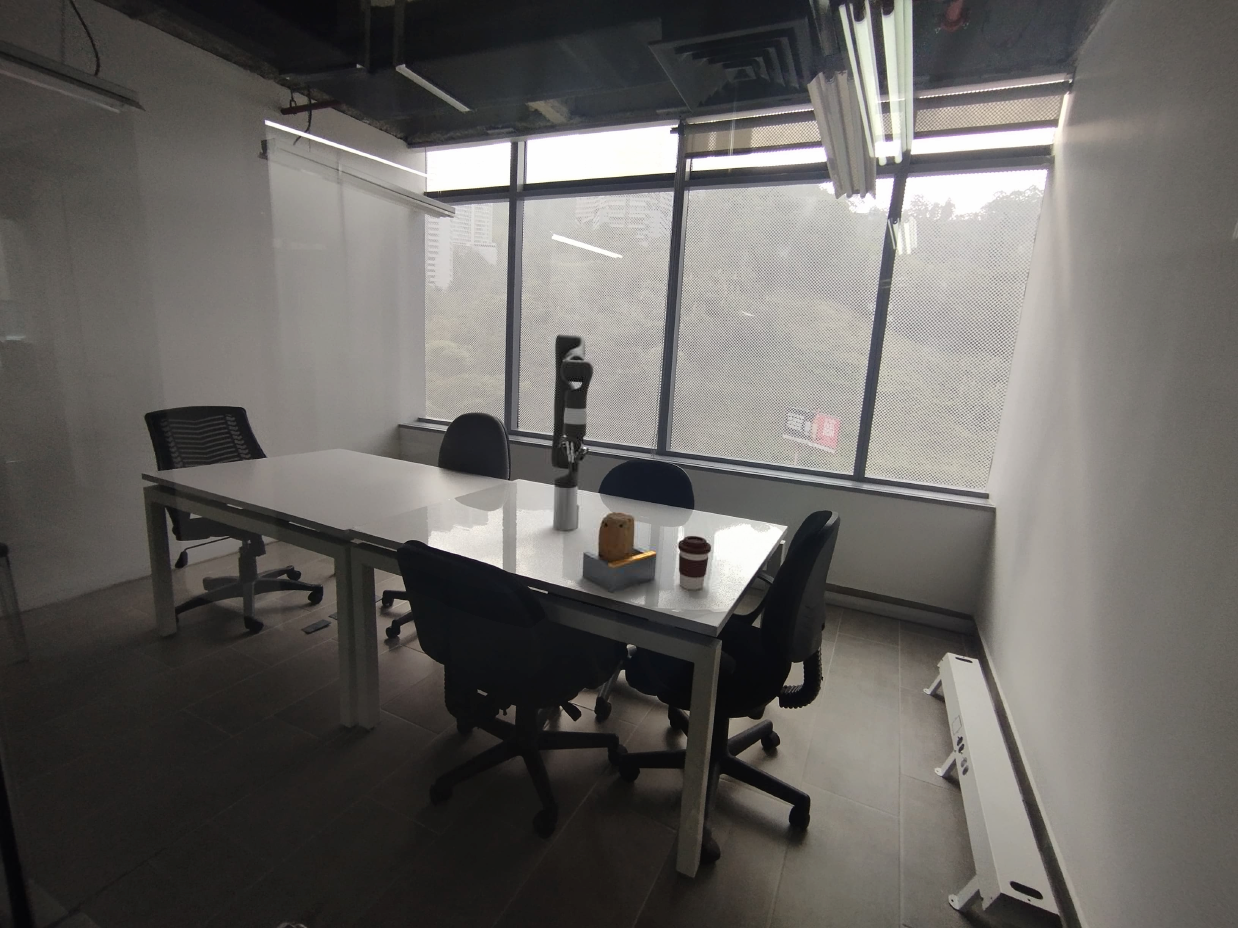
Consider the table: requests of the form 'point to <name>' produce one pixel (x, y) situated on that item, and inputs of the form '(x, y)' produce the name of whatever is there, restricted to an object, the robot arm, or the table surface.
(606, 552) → the block
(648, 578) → the dock
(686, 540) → the coffee cup
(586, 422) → the robot arm
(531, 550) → the table surface
